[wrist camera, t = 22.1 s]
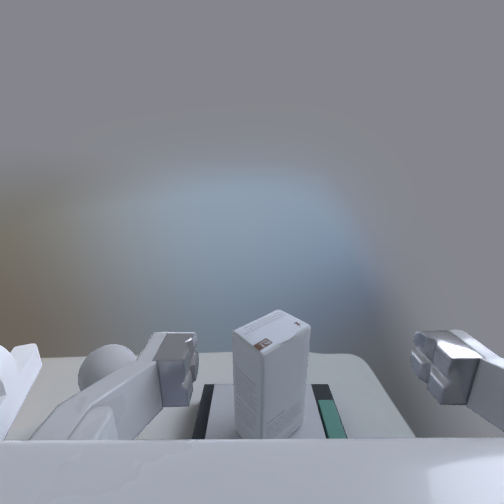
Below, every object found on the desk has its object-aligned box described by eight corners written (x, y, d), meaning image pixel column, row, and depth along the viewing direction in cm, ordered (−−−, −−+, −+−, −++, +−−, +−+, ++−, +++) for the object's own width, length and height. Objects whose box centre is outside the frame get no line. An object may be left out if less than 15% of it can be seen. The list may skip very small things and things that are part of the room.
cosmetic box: (274, 399, 30) (277, 305, 27) (305, 427, 27) (313, 323, 23) (231, 432, 26) (228, 327, 23) (261, 469, 23) (263, 352, 20)
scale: (326, 399, 34) (328, 377, 33) (374, 543, 21) (380, 514, 20) (205, 399, 34) (203, 377, 33) (175, 544, 21) (171, 514, 20)
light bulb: (121, 393, 35) (110, 329, 32) (155, 409, 33) (145, 341, 30) (78, 431, 30) (60, 358, 27) (114, 453, 28) (98, 376, 25)
